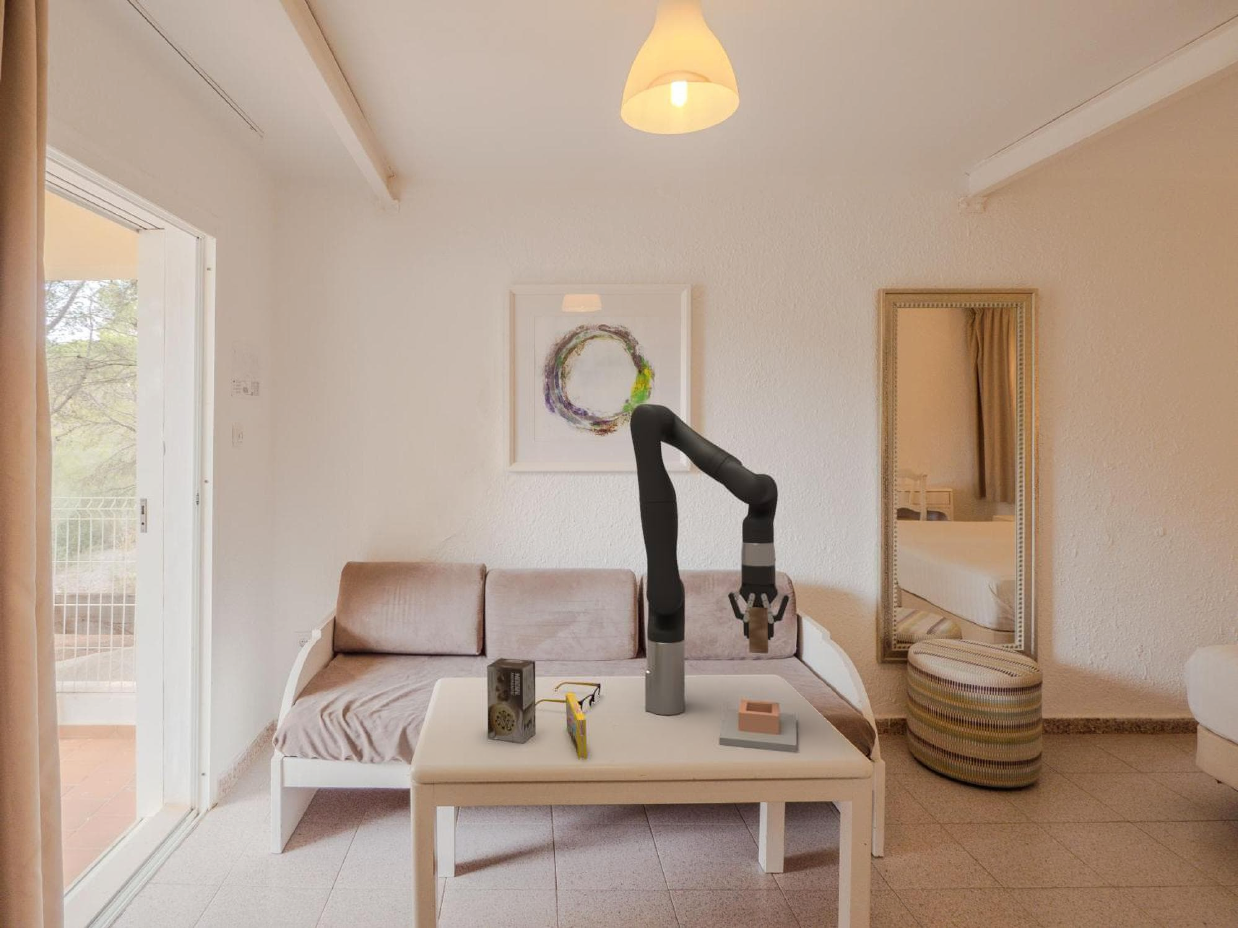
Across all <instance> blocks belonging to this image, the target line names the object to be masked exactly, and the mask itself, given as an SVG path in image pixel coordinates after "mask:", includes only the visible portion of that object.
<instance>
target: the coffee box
mask: <svg viewBox="0 0 1238 928" xmlns="http://www.w3.org/2000/svg"><path fill="white" fill-rule="evenodd" d="M486 671H487V672H486V677H487V678H486V679H487V680H486V681H487V690H486V691H487V695H486V696H487V739H489V738H497V739H501V740H500V741H504V740H507V741H506V742H512V741H515V742H514V743H519V742H520V744H524V743H526V742H527V741H528V740H529V739H531V738H532V737H533V736H534V735H535V734H536V732H537V731H536V728H537V727H536V706H535V703H536V661H535V660H526V659H515V658H502V657H501V658H498V659H496V660H494V661H493V662H491V663H490V664H488V665H487V666H486ZM532 735H533V736H532ZM531 736H532V737H531ZM525 741H526V742H525Z"/></svg>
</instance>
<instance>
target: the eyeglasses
mask: <svg viewBox="0 0 1238 928" xmlns="http://www.w3.org/2000/svg"><path fill="white" fill-rule="evenodd" d="M563 685H580V686H589V687H596V688H595V689H594V690H593V693H590V694H588V695H587V696H585V697H584V698H583V699H581V700H577V702H578V704H579V706H580V708H581V710H582V711H583V704H584V702H585V701H586V700H587V699H588V698H589V697H590V698H589V701H588V704H589V705H588V706H591V707H592V704H593V702H595V701H596V700H595V697H596V692H597V691H598V693H597V696H598V695H599V696H600V693H601V687H602V686H601V683H599V682H597V683H596V682H578V681H577V682H575V681H573V682H572V681H568V682H567V681H565V682H561V683H560V684H558V685H557V686H556V687H555V688H554V689H557V690H558V689H559V688H560V687H561V686H563ZM541 702H552V703H559V704H560V703H561V704H566V699H540V700H538V701H537V702H535V707H536V706H537V705H538V704H539V703H541Z"/></svg>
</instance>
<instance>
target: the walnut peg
mask: <svg viewBox="0 0 1238 928" xmlns="http://www.w3.org/2000/svg"><path fill="white" fill-rule="evenodd" d="M748 641H749V643H748V645H749V646H748V649H749V650H748V651H749V652H748V653H752V654H753V653H756V654H766V655H767V654H768V653H769V640H768V618H767V608H764V607H749V639H748Z"/></svg>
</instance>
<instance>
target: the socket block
mask: <svg viewBox="0 0 1238 928" xmlns="http://www.w3.org/2000/svg"><path fill="white" fill-rule="evenodd" d="M738 708H739V709H738ZM738 708H726V711H725V715H724V719H723V723H722V726H721V730H720V732H719V738H718V741H719V742H718V744H719V745H721V746H722V745H723V746H730V747H731V746H732V747H739V748H740V747H741V748H750V749H757V750H758V749H760V750H766V751H767V750H768V751H778V752H779V751H780V752H786V751H787V752H788V753H797V750H798V749H797V748H798V747H797V714H795V713H794V714H793V713H785V712H784V713H783V712H782V713H781V712H780V702H775V701H763V700H752V699H751V700H750V699H748V700H747V699H741V700H740V703H739V707H738ZM787 752H786V753H787Z"/></svg>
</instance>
